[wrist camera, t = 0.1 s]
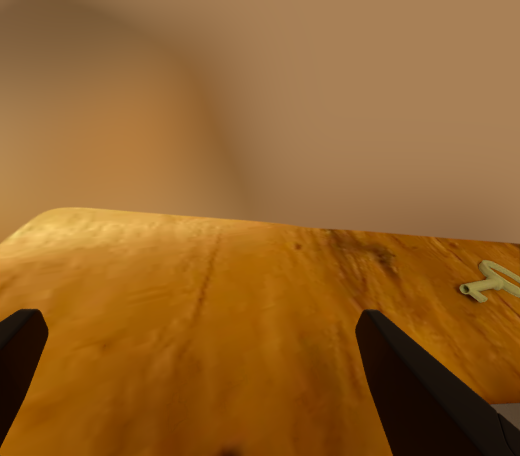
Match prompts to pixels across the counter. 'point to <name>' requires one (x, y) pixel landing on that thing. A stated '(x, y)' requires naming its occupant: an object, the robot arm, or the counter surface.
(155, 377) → the counter surface
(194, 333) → the counter surface
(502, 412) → the grey flat square frame
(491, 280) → the key
